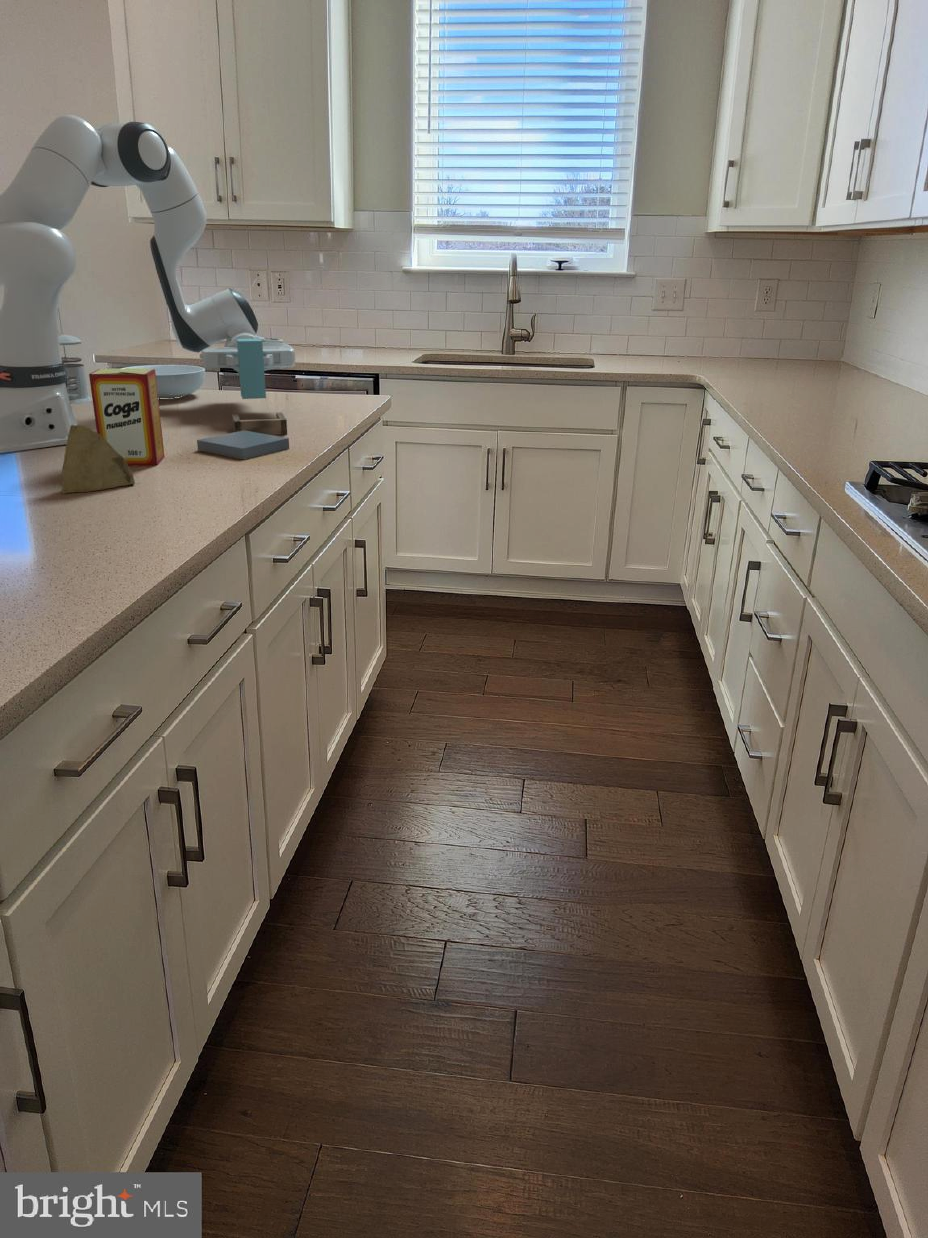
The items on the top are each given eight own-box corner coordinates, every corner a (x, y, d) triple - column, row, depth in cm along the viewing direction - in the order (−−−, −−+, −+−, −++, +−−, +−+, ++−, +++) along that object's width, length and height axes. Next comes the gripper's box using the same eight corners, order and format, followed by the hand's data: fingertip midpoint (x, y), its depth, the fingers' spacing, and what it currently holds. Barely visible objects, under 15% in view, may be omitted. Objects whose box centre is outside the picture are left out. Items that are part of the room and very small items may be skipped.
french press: (78, 404, 214) (62, 292, 204) (34, 402, 216) (16, 290, 206) (101, 398, 223) (87, 290, 213) (59, 395, 225) (43, 288, 215)
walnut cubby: (235, 436, 184) (234, 421, 183) (232, 428, 191) (231, 413, 190) (287, 434, 187) (286, 419, 185) (282, 426, 194) (281, 412, 193)
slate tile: (243, 459, 165) (242, 448, 164) (197, 450, 171) (196, 439, 170) (289, 448, 174) (288, 438, 173) (244, 440, 180) (244, 430, 179)
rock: (145, 464, 150) (84, 455, 149) (135, 429, 143) (71, 419, 142) (126, 517, 145) (63, 507, 144) (115, 483, 137) (48, 473, 137)
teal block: (242, 398, 196) (238, 341, 191) (240, 395, 200) (236, 338, 196) (266, 398, 197) (262, 340, 193) (263, 394, 202) (260, 338, 197)
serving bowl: (219, 392, 235) (217, 364, 233) (188, 405, 216) (186, 375, 214) (141, 389, 237) (138, 362, 234) (104, 402, 218) (101, 372, 215)
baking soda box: (101, 465, 158) (88, 371, 152) (110, 457, 164) (98, 366, 158) (157, 465, 159) (146, 372, 153) (164, 457, 165) (154, 366, 159)
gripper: (197, 340, 203) (199, 347, 191) (289, 339, 209) (297, 345, 197) (200, 369, 206) (202, 377, 194) (291, 367, 211) (298, 375, 199)
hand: (251, 361), depth 195 cm, fingers closed on teal block, 5 cm apart
